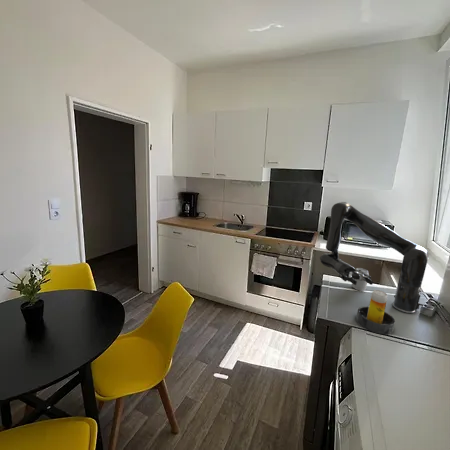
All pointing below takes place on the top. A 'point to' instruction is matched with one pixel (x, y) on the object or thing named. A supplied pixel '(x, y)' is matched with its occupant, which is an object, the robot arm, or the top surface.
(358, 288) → the can
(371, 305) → the beer can
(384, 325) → the dark grey bowl
